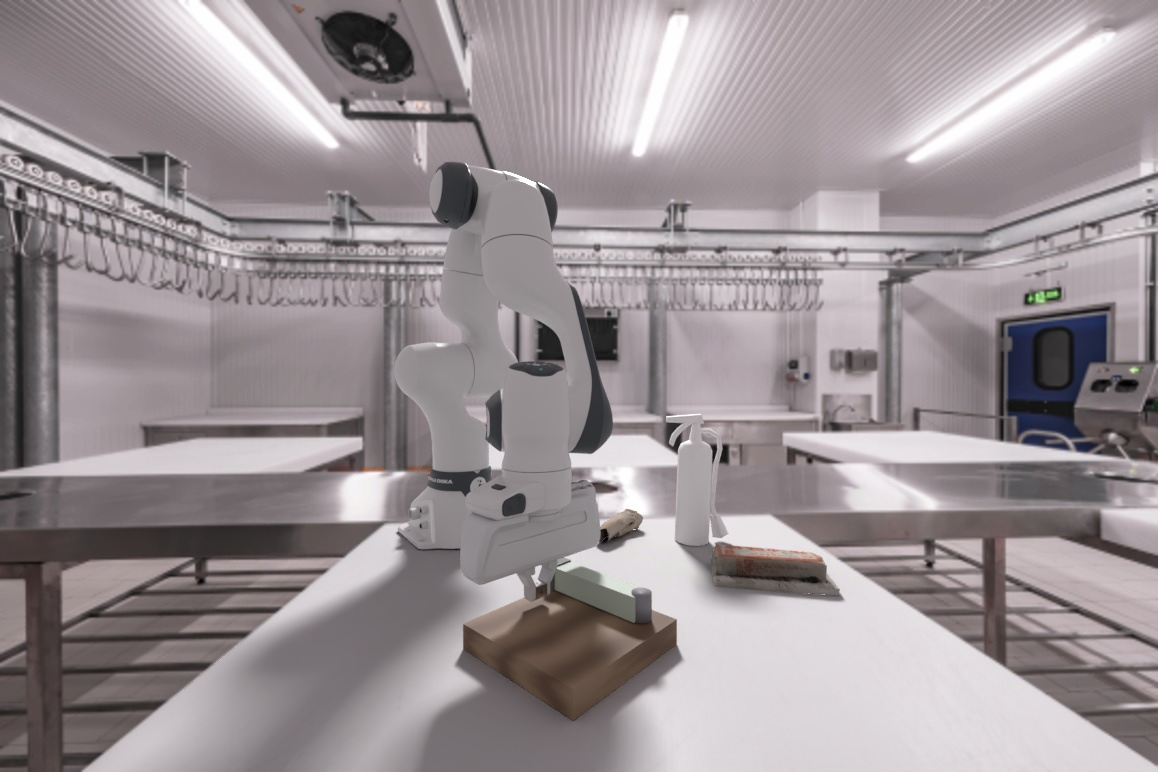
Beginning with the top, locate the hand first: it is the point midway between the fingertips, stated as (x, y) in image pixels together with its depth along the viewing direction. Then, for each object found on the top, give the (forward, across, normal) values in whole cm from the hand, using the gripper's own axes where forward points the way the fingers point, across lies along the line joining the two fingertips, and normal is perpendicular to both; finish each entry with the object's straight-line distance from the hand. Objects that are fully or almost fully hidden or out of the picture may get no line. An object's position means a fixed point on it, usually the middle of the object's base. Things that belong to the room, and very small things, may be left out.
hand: (537, 597), depth 63 cm
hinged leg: (+1, -6, +5) cm, 8 cm away
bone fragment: (+4, -35, -18) cm, 40 cm away
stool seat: (+4, 0, +6) cm, 7 cm away
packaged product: (+5, -37, +13) cm, 39 cm away
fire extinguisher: (+4, -44, -5) cm, 44 cm away
